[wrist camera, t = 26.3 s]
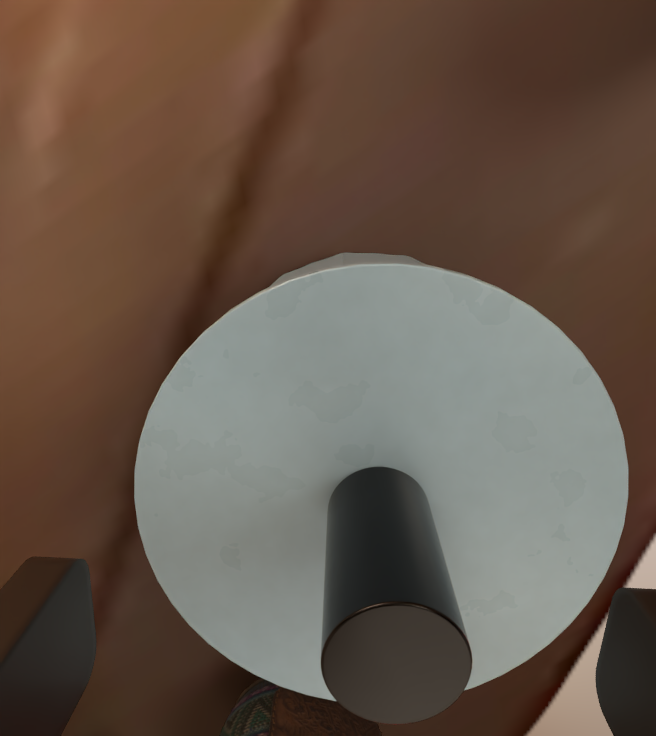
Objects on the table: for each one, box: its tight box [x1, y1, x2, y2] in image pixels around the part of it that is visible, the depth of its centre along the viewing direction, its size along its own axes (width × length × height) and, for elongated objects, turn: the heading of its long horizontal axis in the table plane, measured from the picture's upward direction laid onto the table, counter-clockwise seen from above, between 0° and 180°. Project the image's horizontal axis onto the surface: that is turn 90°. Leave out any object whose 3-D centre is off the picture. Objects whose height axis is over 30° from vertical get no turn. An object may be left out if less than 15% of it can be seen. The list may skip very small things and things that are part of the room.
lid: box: [134, 261, 628, 724], centre depth 13 cm, size 13×13×6 cm
